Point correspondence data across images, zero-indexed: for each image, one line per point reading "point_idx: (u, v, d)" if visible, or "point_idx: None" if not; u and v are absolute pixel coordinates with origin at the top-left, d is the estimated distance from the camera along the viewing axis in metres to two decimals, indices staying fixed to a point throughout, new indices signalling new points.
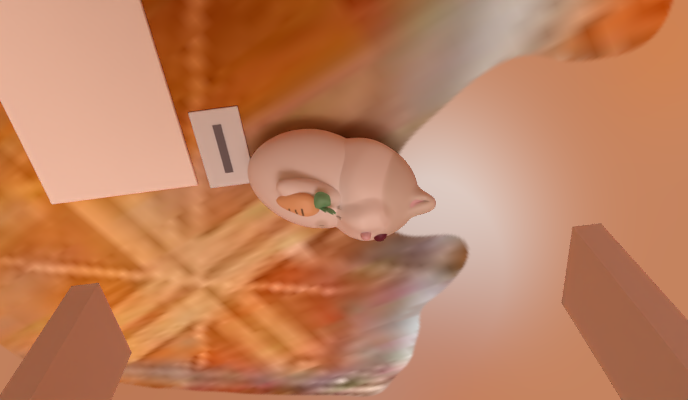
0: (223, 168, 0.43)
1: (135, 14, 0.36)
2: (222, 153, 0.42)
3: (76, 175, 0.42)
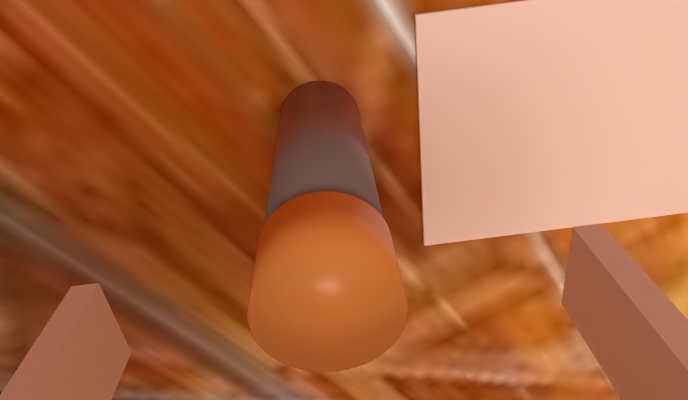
0: None
1: (495, 18, 0.23)
2: None
3: None
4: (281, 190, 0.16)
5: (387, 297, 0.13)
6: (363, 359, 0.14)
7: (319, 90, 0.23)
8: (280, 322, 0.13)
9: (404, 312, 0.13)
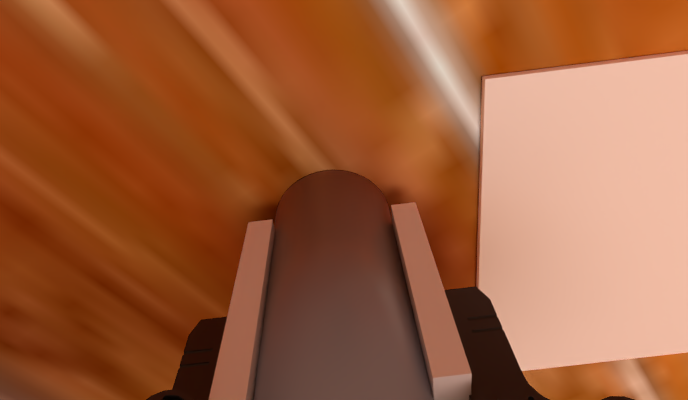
0: None
1: (606, 83, 0.15)
2: None
3: None
4: None
5: None
6: None
7: (334, 192, 0.15)
8: None
9: None
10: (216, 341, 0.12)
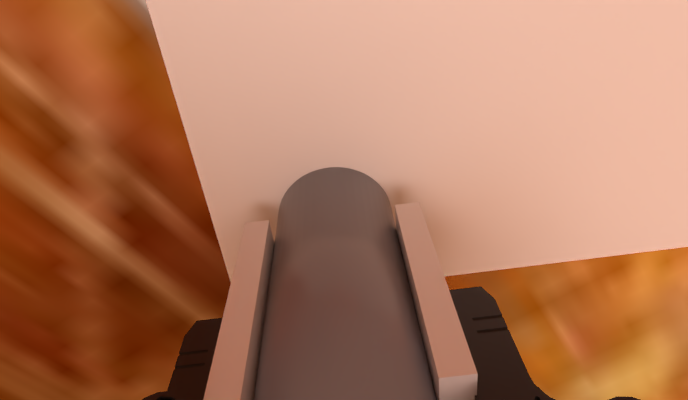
0: None
1: None
2: None
3: (655, 180, 0.17)
4: None
5: None
6: None
7: (336, 188, 0.15)
8: None
9: None
10: (211, 342, 0.12)
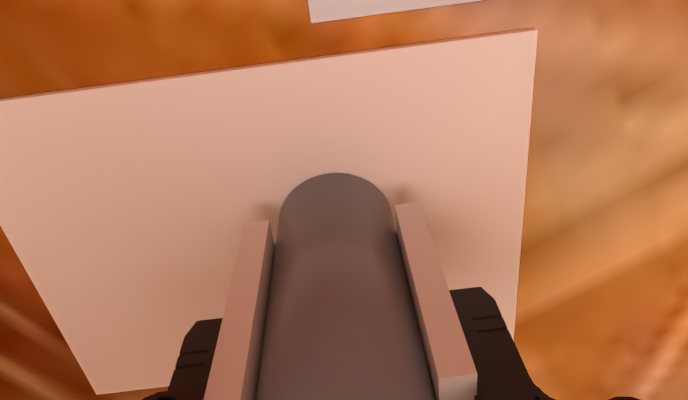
0: None
1: (62, 113, 0.15)
2: None
3: None
4: None
5: None
6: None
7: (334, 195, 0.15)
8: None
9: None
10: (212, 342, 0.12)
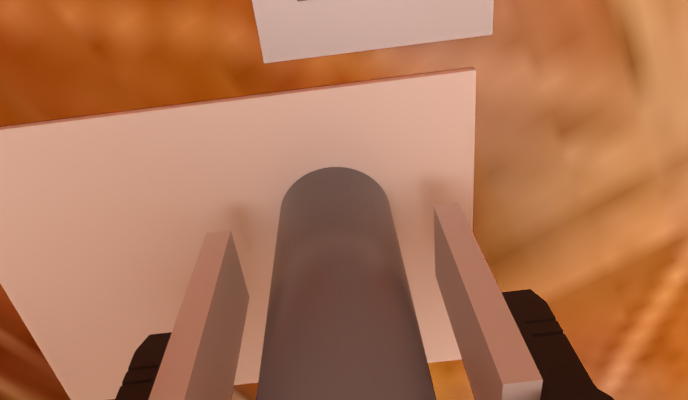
0: None
1: (34, 143, 0.16)
2: None
3: None
4: None
5: None
6: None
7: (333, 187, 0.16)
8: None
9: None
10: (162, 357, 0.12)
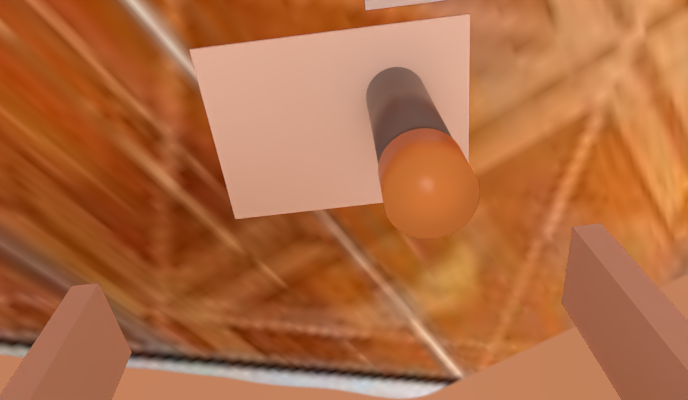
0: None
1: (247, 52, 0.32)
2: None
3: None
4: (390, 132, 0.25)
5: (467, 185, 0.21)
6: (451, 229, 0.22)
7: (398, 73, 0.31)
8: (402, 203, 0.22)
9: (477, 195, 0.22)
10: None
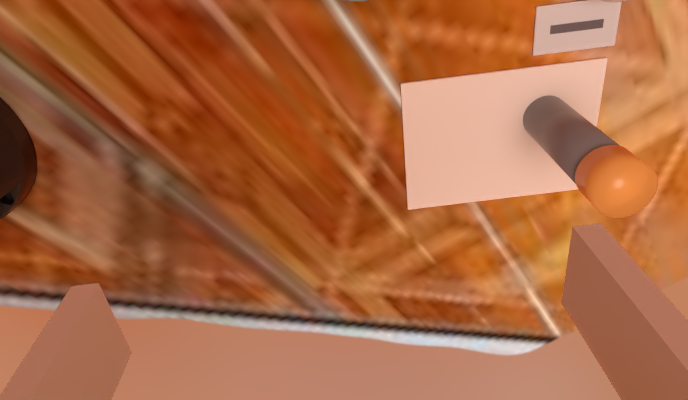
0: (597, 29, 0.42)
1: (442, 85, 0.43)
2: (581, 27, 0.42)
3: None
4: (581, 147, 0.36)
5: (650, 182, 0.33)
6: (634, 211, 0.34)
7: (555, 100, 0.43)
8: (607, 194, 0.33)
9: (655, 188, 0.33)
10: None
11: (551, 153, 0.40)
